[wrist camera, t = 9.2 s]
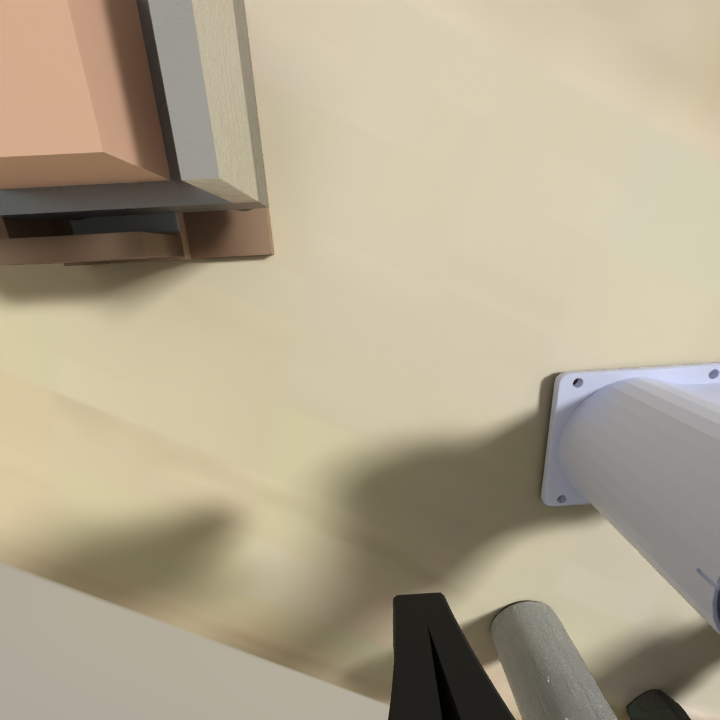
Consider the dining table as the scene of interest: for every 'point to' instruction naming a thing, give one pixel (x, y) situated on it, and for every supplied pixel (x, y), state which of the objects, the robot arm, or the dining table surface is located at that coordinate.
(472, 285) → the dining table surface
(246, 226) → the dock
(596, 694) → the grey cylinder
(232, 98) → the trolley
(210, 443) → the dining table surface
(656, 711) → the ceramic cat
